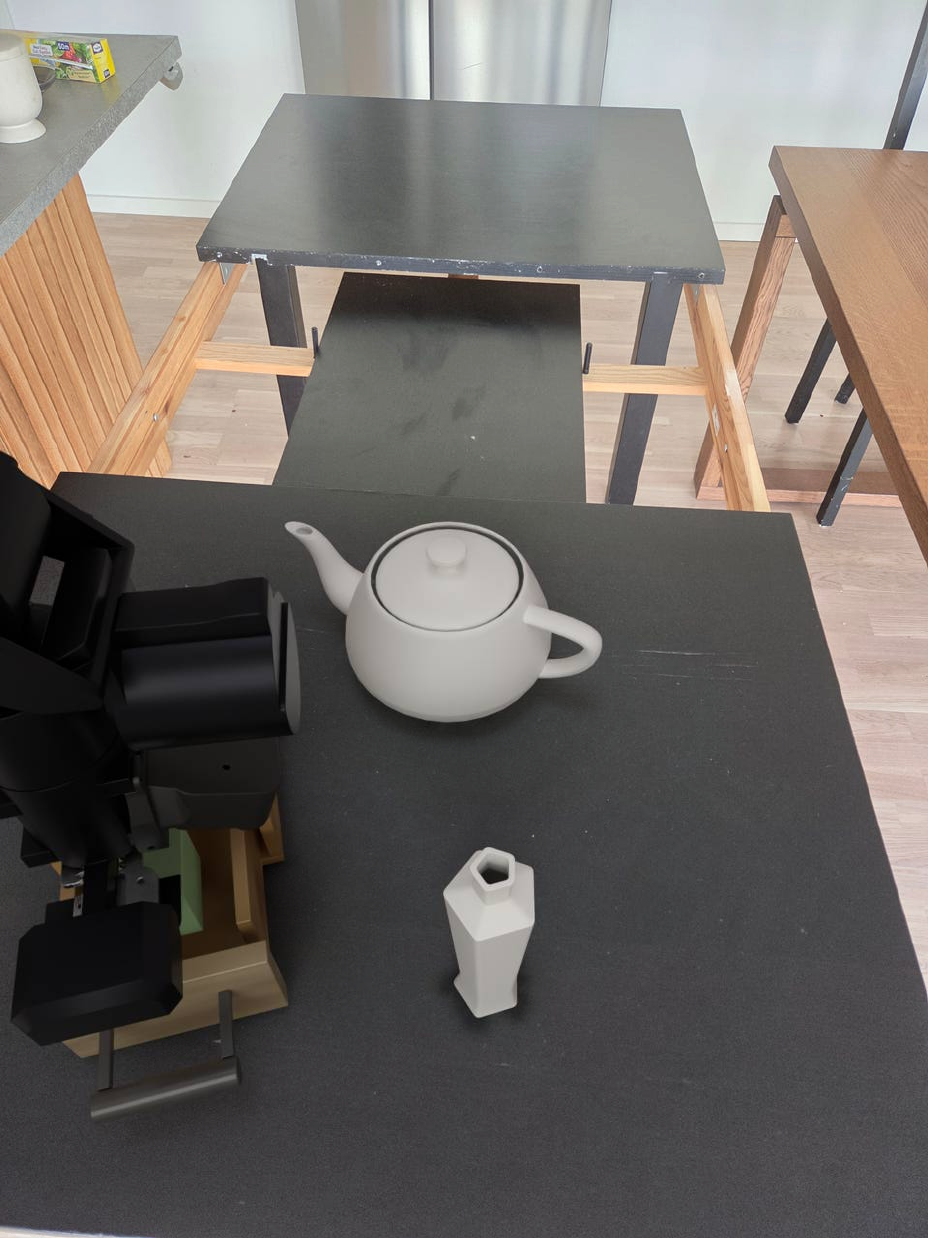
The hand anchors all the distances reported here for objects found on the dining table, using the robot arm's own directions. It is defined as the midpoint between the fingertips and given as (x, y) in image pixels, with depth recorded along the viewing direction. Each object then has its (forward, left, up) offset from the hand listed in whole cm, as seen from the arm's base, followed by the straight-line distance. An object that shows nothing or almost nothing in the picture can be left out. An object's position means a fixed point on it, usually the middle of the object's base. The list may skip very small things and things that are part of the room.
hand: (155, 895), depth 46 cm
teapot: (+20, +18, -8) cm, 28 cm away
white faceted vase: (+17, -7, -8) cm, 20 cm away
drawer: (0, -1, -6) cm, 6 cm away
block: (0, 0, -1) cm, 1 cm away
